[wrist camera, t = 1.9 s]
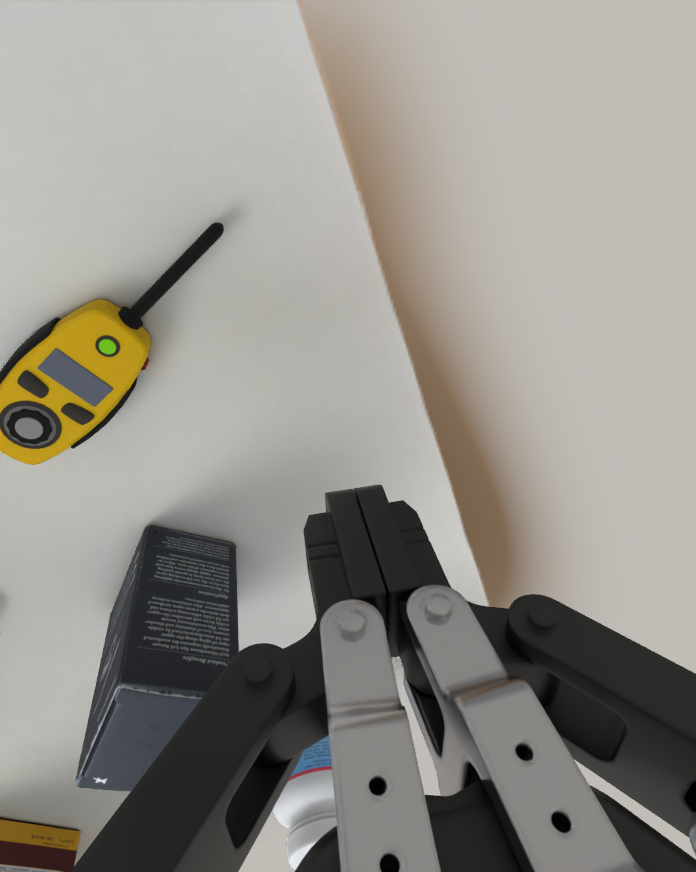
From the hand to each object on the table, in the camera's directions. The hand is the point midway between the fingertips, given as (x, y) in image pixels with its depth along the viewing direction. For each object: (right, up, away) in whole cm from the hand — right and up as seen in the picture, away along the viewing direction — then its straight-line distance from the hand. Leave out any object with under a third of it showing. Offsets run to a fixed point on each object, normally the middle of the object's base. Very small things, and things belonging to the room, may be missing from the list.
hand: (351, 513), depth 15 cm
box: (-11, -7, +20) cm, 23 cm away
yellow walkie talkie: (-11, +7, +11) cm, 17 cm away
